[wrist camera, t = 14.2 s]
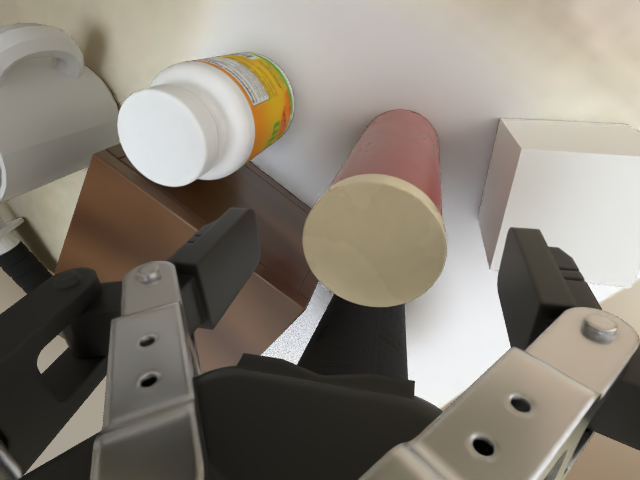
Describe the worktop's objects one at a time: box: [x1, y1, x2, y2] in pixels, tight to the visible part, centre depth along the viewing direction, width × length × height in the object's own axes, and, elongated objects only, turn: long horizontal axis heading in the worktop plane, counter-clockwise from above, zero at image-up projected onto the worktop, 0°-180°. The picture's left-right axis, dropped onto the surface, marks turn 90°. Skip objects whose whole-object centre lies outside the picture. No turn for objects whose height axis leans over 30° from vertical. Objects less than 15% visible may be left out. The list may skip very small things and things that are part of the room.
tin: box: [302, 110, 447, 307], centre depth 18 cm, size 5×5×12 cm
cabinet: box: [54, 143, 319, 373], centre depth 25 cm, size 10×13×9 cm
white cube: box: [478, 118, 640, 288], centre depth 19 cm, size 6×6×6 cm
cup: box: [0, 23, 120, 203], centre depth 23 cm, size 7×10×9 cm
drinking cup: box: [297, 294, 408, 380], centre depth 20 cm, size 8×8×20 cm
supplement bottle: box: [117, 53, 294, 187], centre depth 19 cm, size 5×5×10 cm
